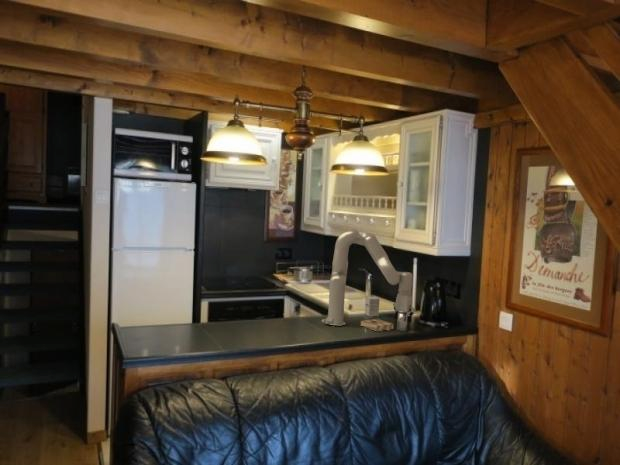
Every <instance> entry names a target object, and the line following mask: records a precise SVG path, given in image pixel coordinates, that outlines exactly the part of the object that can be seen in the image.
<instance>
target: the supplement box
mask: <svg viewBox="0 0 620 465" xmlns="http://www.w3.org/2000/svg"><path fill="white" fill-rule="evenodd" d="M364 299H365V301H364V302H365V304H364V315H365V314H366V315H368V316H378V317H379V316H380V315H379V310H380V298H379V297H377V296H365V298H364ZM366 315H365V316H366ZM368 316H367V317H368Z"/></svg>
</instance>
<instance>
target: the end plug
mask: <svg viewBox="0 0 620 465" xmlns="http://www.w3.org/2000/svg"><path fill="white" fill-rule="evenodd" d="M407 316H408V314H407V312H402V311H399V310H398V319H396V322H397V323H396V330H397V331H399V330H400V331H399V332H406V330H408V322H407Z"/></svg>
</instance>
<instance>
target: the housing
mask: <svg viewBox="0 0 620 465" xmlns="http://www.w3.org/2000/svg"><path fill="white" fill-rule="evenodd" d="M361 326H364V327H366V328H369V329H371V330H370V331H372V330H374V331H381V332H384V331H383V330H387V331H392V330H391V329H393V330H394V323H392V322H388V321H385V320H383V319H379V318H375V319H374V318H373V319H365V320H360V327H361ZM366 328H365V329H366ZM369 329H368V330H369ZM374 331H373V332H374Z"/></svg>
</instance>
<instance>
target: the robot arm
mask: <svg viewBox="0 0 620 465" xmlns="http://www.w3.org/2000/svg"><path fill="white" fill-rule="evenodd" d="M352 244H356V245H360V246H364V247H365V248H366V250H367V252H368V254H369V255H370V256H371V258H372V260H373V261H374V263H375V265H377V267H378V269H379V270H380V271H381V273H382V275H383V276H384V278H385V279H386V281H387V282H388V284H390V285H392V286H395V285H396V286H397V285H398V289H397V291H398V293H397V295H396V298H395V303H393V304H392V306H393V309H394V313H395V315H394V316H395V317H394V318H395V319H396V320H397V319H398V310H399V311H402V312H407V314H408V316H407V324H408V323H411V322H412V320H413V319H412V317H413V315H414V314H415V313H416V309H415V308H414V307H413V297H412V296H413V295H412V288H413V285H412V283H413V274H412V272H408V271H397V270H396V268H395V266H394V265H393V264H392V262H391V260H390V259H389V256H388V253H387V252H386V251H385V250H384V248H383V247H382V244H381V243H380V242H379V240H378V239H377V237H376V235H375V234H373V233H369V232H365V231H361V230H358V229H354V228H351V229H348V230H346V231H345V232H343V233H341V234H340V235H339V236H338V237H337V239H336V241H335V245H334V251H333V252H334V253H333V260H332V263H331V264H332V269H331V270H332V271H331V276H330V278H329V289H328V290H329V295H328V296H329V297H328V311H327V316H326V318H322V319H321V322H322V323H324V324H325V323H326V324H330V325H338V326H341V325H345V324H346V322H345V321H344V317H345V315H344V314H345V298H346V297H345V296H346V282H347V275H348V268H349V261H348V259H349V249H350V246H351V245H352ZM395 319H394V320H395ZM326 324H325V325H326ZM346 325H347V324H346ZM346 325H345V326H346Z"/></svg>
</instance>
